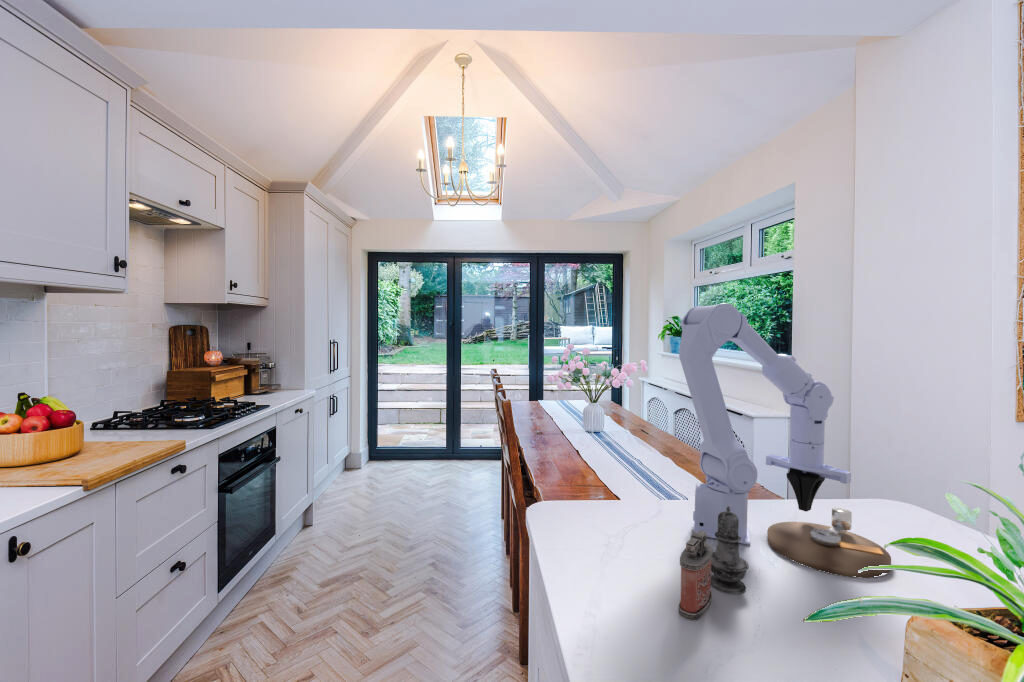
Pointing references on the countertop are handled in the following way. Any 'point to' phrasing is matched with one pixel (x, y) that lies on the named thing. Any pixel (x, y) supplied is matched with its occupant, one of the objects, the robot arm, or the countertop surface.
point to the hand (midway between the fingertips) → (804, 509)
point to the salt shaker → (728, 556)
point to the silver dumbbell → (834, 528)
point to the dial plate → (827, 550)
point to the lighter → (695, 577)
